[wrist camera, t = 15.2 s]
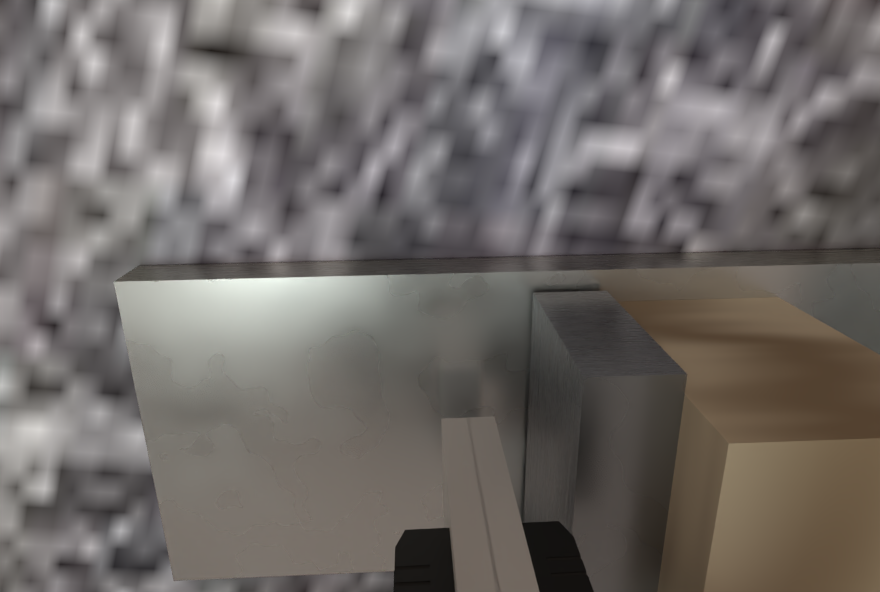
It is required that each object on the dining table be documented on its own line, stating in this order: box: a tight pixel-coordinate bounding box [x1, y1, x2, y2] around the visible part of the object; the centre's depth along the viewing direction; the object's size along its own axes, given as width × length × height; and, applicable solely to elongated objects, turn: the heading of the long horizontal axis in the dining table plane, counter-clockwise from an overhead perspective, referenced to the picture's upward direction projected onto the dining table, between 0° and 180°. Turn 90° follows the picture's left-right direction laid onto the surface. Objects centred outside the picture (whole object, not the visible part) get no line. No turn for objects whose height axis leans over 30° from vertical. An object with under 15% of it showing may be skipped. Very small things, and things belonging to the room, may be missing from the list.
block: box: [618, 297, 880, 592], centre depth 15 cm, size 5×8×7 cm, turn 1°
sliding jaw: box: [524, 291, 687, 592], centre depth 16 cm, size 6×11×5 cm, turn 1°
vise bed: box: [114, 248, 880, 581], centre depth 19 cm, size 24×10×2 cm, turn 91°
